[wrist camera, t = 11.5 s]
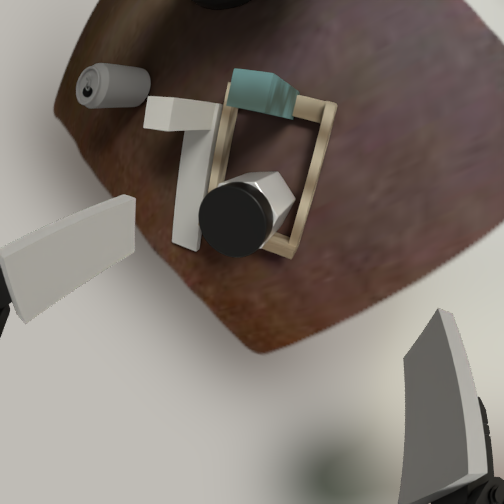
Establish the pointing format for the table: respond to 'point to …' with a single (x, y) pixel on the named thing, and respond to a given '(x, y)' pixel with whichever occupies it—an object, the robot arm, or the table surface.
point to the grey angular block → (188, 157)
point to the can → (112, 86)
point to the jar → (244, 212)
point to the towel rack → (282, 105)
